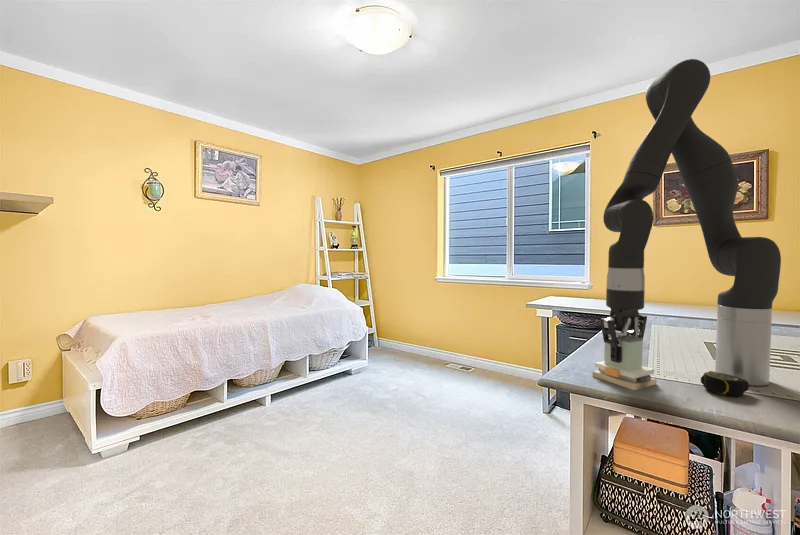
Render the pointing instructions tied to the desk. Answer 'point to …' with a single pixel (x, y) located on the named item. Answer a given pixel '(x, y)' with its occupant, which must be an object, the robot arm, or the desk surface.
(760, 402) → the desk surface
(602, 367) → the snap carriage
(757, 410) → the desk surface
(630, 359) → the block
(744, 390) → the tape measure
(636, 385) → the rail stand
